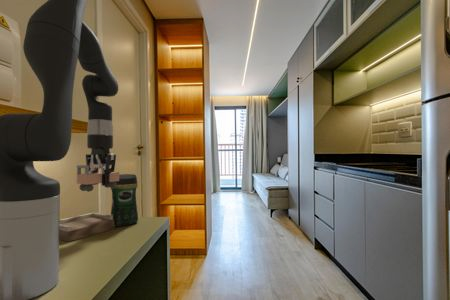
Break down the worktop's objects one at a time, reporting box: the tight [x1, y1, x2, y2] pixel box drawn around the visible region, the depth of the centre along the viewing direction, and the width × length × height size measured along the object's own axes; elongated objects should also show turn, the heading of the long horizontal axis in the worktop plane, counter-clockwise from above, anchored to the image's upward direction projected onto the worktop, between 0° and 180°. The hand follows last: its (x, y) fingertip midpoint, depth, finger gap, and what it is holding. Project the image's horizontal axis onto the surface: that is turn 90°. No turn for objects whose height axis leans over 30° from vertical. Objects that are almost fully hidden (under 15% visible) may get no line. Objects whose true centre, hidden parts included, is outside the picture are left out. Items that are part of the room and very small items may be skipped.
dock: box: [59, 211, 115, 243], centre depth 77 cm, size 15×12×4 cm
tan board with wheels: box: [76, 164, 120, 193], centre depth 75 cm, size 11×6×8 cm, turn 149°
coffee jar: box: [110, 173, 139, 227], centre depth 86 cm, size 10×8×19 cm
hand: (100, 184), depth 76 cm, fingers closed on tan board with wheels, 5 cm apart
